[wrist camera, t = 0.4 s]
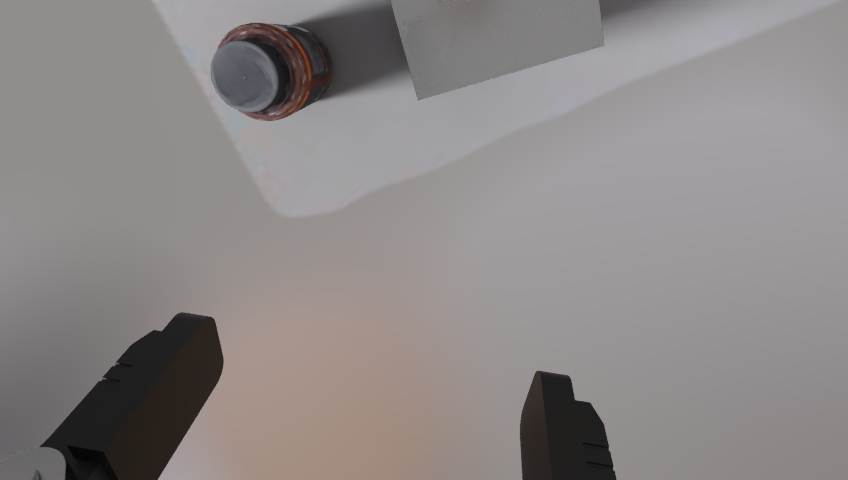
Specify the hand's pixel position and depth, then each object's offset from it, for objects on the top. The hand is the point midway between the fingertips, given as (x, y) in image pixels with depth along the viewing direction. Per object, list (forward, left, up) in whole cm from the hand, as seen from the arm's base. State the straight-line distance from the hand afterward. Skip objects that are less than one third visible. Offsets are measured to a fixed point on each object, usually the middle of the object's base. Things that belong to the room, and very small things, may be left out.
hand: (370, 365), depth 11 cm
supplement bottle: (-8, -7, -30) cm, 32 cm away
